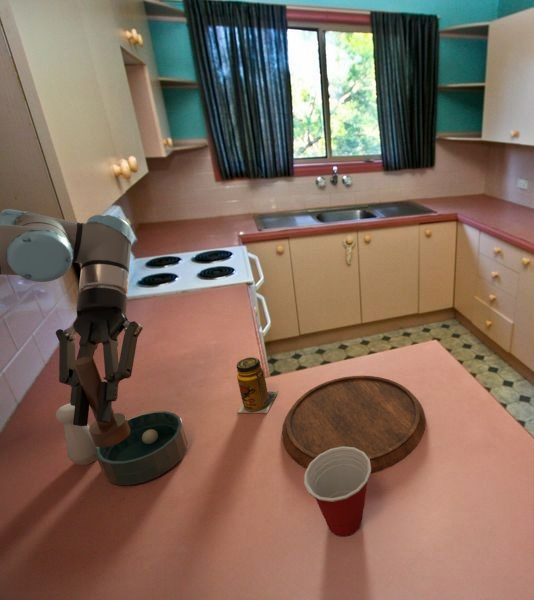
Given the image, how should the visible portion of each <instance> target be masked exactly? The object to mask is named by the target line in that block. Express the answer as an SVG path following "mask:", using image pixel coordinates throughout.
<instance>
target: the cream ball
mask: <svg viewBox="0 0 534 600" xmlns="http://www.w3.org/2000/svg"><path fill="white" fill-rule="evenodd" d="M157 439H158V433H157V431H155V430H152V429H150V430H147V431H145V432H144V433H143V435H142V440H143V442H144V443H146V444H152V443H154V442H155V441H156V440H157Z"/></svg>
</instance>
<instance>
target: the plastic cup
mask: <svg viewBox="0 0 534 600" xmlns="http://www.w3.org/2000/svg"><path fill="white" fill-rule="evenodd" d="M370 473H371V465H370V459H369V458H368V457H367V456H366V454H365V453H364V452H363V451H360V450H358V449H356V448H354V447H338V448H333V449H329V450H327V451H325V452H323V453H321V454H320V455H318V456H317V457H316V458H315V459H314V460H313V461H312V462H311V463H310V464H309V466H308V468H307V469H306V470H305V472H304V479H303V485H304V486H305V488H306V490H307V492H308V494H309V495H310V496H312V497H313V498H314V499H316V503H317V505H318V507H319V509H320V512H321V514H322V517H323V518H324V521H325V523H326V526H327V528H328V530H329V531H330V533H332V534H333V535H335V536H337V537H342V538H343V537H348V536H351V535H354V534H355V533H356V532H357V531H358V530H359V528H360V527H361V525H362V521H363V518H364V510H365V506H366V496H367V487H368V483H369V482H368V481H369V478H370V475H371V474H372V473H371V474H370Z"/></svg>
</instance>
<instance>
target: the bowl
mask: <svg viewBox="0 0 534 600" xmlns="http://www.w3.org/2000/svg"><path fill="white" fill-rule="evenodd" d="M126 419H127V422H128V424H129V427H130V430H131V431H130V434H129V435H128V437H127V438H126V439H124V440H123V441H122V442H120V443H118V444H116V445H113V446H110V447H104V448H101V447H97V446H96V457H97V461H98V464H99V467H100V469H101V471H102V474H103V476H104V478H105V479H106V480H107V481H108V482H109V483H111V484H114V485H117V486H133V485H137V484H141V483H146V482H148V481H151V480H153V479H155V478H158V477H160V476H162V475H163V474H164V473H167V472H168V471H169V470H171V469H172V468H174V467H175V466H176V465H177V464H178V463H179V462H180V461H181V460H182V459H183V457H184V455H185V454H186V452H187V449H188V445H189V441H188V439H187V435H186V431H185V428H184V425H183V422H182V418H181V417H180V416H179V415H178V414H176V413H175V412H171V411H167V410H155V411H150V412H144V413H141V414H138V415H134V416H132V417H129V418H126ZM150 429H152V430H155V431H157V433H158V439H157V440H156V441H155V442H154V443H152V444H146V443H144V442H143V440H142V435H143V433H144V432H145V431H147V430H150Z"/></svg>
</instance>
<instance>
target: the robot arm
mask: <svg viewBox="0 0 534 600" xmlns="http://www.w3.org/2000/svg"><path fill="white" fill-rule="evenodd" d="M132 246H133V243H132V229H131V226H130V225H129V223H128V222H127V221H125V220H124V219H122V218H120V217H118V216H115V215H111V214H105V215H102V214H95V215H92V216H90V217H88V219H87V220H86V222H85V223H84V222H76V221H71V220H66V219H61V218H58V217H54V216H53V217H52V216H48V215H44V214H39V213H35V212H31V211H30V210H29V211H28V210H25V211H24V210H17V209H11V208H6V209H5V208H4V209H3V210H1V212H0V275H1V276H19V277H21V278H23V279H25V280H27V281H31V282H35V283H47V282H53V281H56V280H58V279H60V278H61V277H64V275H66V274H67V273H68V271H69V270H70V269H71V266H72V265H73V264H74V263H77V264H81V266H80V267H81V268H80V277H79V284H78V291H79V293H78V294H77V301H76V302H77V303H76V318H75V320H74V321H73V323H72V325H71V326H70V327H67V328H65V329H62V328H59V329H56V331H55V336H56V338H57V340H58V342H59V345H58V347H59V349H58V350H59V351H58V382H59V383H61V384H64V385H66V386H69V387H71V389H70V399H69V404H71V405H72V406H75V410H74V419H73V425H77V426H87V424H88V425H89V423H88V422H89V412H90V405H89V402H88V400H87V397H86V395H85V392H84V390H83V387H82V385H81V382H80V380H79V377H78V375H77V372H76V370H75V367H74V365H73V362H74V361H76V360H77V359H79V358H82V357H86V356H92V357H93V358H94V356H95V351H96V350H97V349H98V347H99V344H102V351H103V365H104V375H105V376H103V380H105V381H102V382H100V389H99V401H98V413H97V422H102V423H109V422H110V418H111V406H112V404H113V402H116V401H117V400H118V394H119V384H120V382H121V381H123V380H125V379H130V378H131V377H132V374H133V367H134V361H135V356H136V350H137V344H138V338H139V337H140V334H141V333H142V331H143V329H144V328H143V326H142V325H141V324H140V323H138V322H137V321H133V320H132V321H131V320H130V321H129V320H128V318H127V311H128V310H127V309H128V296H127V295H128V294H129V293H128V292H129V280H130V279H129V277H130V276H129V275H130V266H131V265H130V264H131V251H132ZM123 331H124V334H123V338H122V345H121V349H120V356H119V352H118V346H119V339H118V337H119V335H120V334H122V332H123ZM77 334H78V335H79V336H80V338H79V342H78V346H79V349H78V352H77V356H76V343H75V341H76V339H77Z"/></svg>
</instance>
